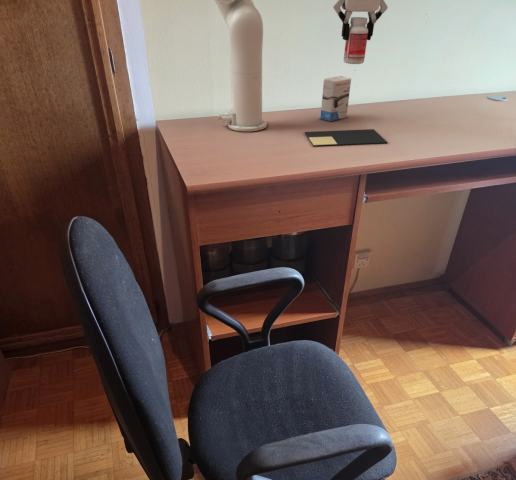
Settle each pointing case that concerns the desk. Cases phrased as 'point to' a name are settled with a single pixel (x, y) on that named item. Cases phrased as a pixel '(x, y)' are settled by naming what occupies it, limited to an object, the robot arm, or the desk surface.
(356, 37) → the pill bottle
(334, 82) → the ink box
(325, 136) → the desk mat
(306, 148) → the desk surface
